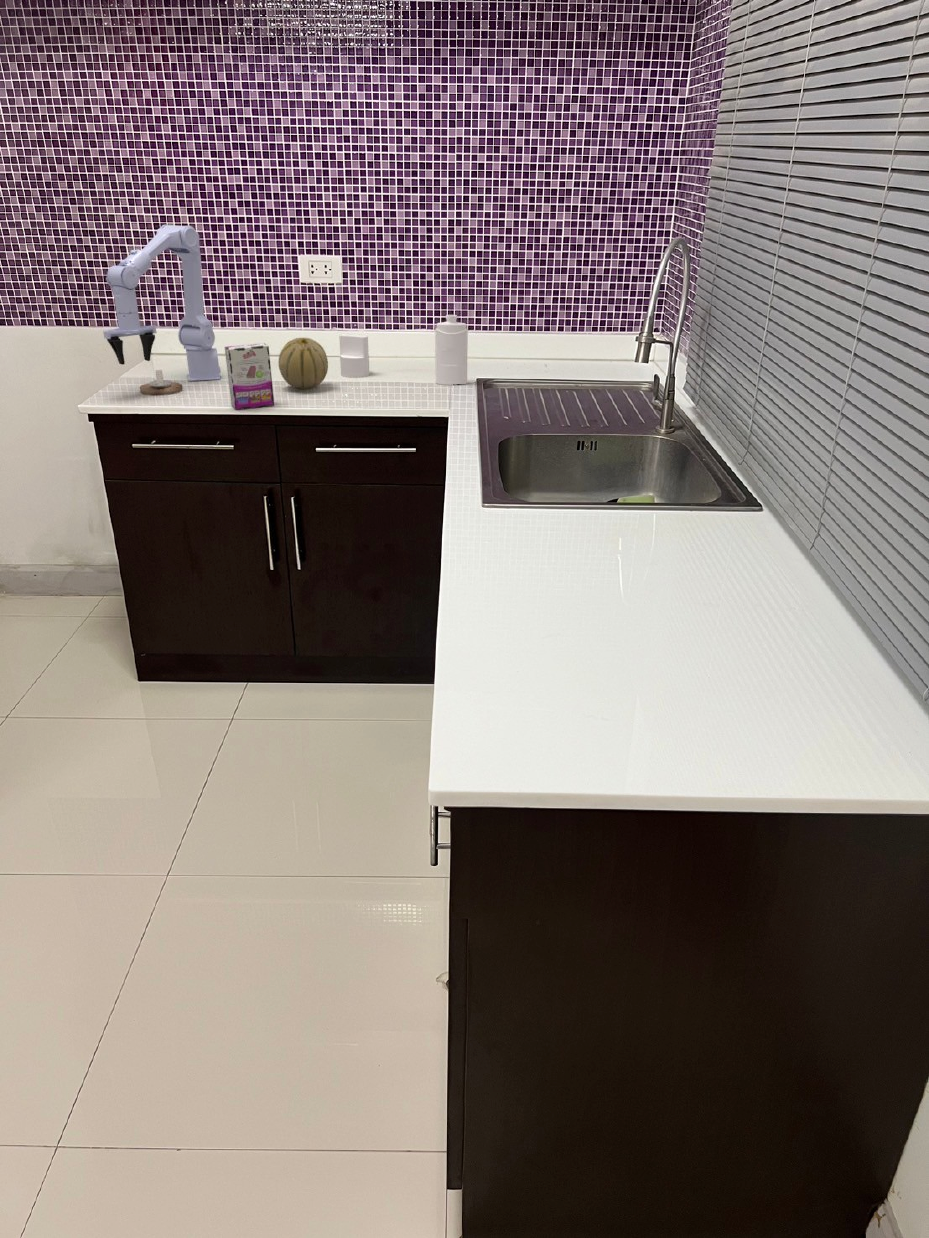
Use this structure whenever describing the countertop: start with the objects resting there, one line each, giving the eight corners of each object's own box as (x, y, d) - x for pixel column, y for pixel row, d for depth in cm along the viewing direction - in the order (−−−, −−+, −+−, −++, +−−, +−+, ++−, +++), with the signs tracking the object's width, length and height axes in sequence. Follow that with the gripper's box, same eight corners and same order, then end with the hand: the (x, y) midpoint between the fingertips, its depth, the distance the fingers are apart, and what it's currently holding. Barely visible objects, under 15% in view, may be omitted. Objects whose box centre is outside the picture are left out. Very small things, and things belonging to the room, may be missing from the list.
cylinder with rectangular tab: (335, 376, 292) (333, 337, 287) (349, 370, 300) (347, 332, 294) (361, 378, 289) (359, 339, 284) (374, 373, 297) (373, 334, 291)
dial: (150, 384, 274) (148, 368, 272) (171, 382, 276) (169, 367, 274) (150, 389, 268) (147, 374, 266) (171, 388, 269) (169, 373, 267)
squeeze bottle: (466, 385, 282) (467, 382, 286) (467, 317, 273) (468, 314, 277) (435, 385, 282) (436, 381, 287) (434, 316, 273) (435, 314, 278)
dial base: (182, 384, 280) (181, 380, 279) (183, 393, 270) (182, 389, 269) (140, 387, 277) (139, 382, 276) (140, 396, 267) (139, 391, 266)
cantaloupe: (310, 380, 286) (307, 330, 280) (339, 388, 277) (337, 336, 270) (270, 388, 277) (265, 336, 270) (299, 396, 268) (295, 343, 261)
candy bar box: (269, 402, 262) (264, 342, 254) (274, 406, 258) (269, 345, 250) (230, 406, 257) (223, 345, 250) (235, 410, 253) (228, 348, 246)
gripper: (108, 316, 250) (116, 367, 256) (158, 311, 259) (165, 361, 265) (97, 313, 254) (105, 363, 260) (146, 308, 263) (153, 357, 269)
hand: (134, 362), depth 263 cm, fingers open, 7 cm apart
